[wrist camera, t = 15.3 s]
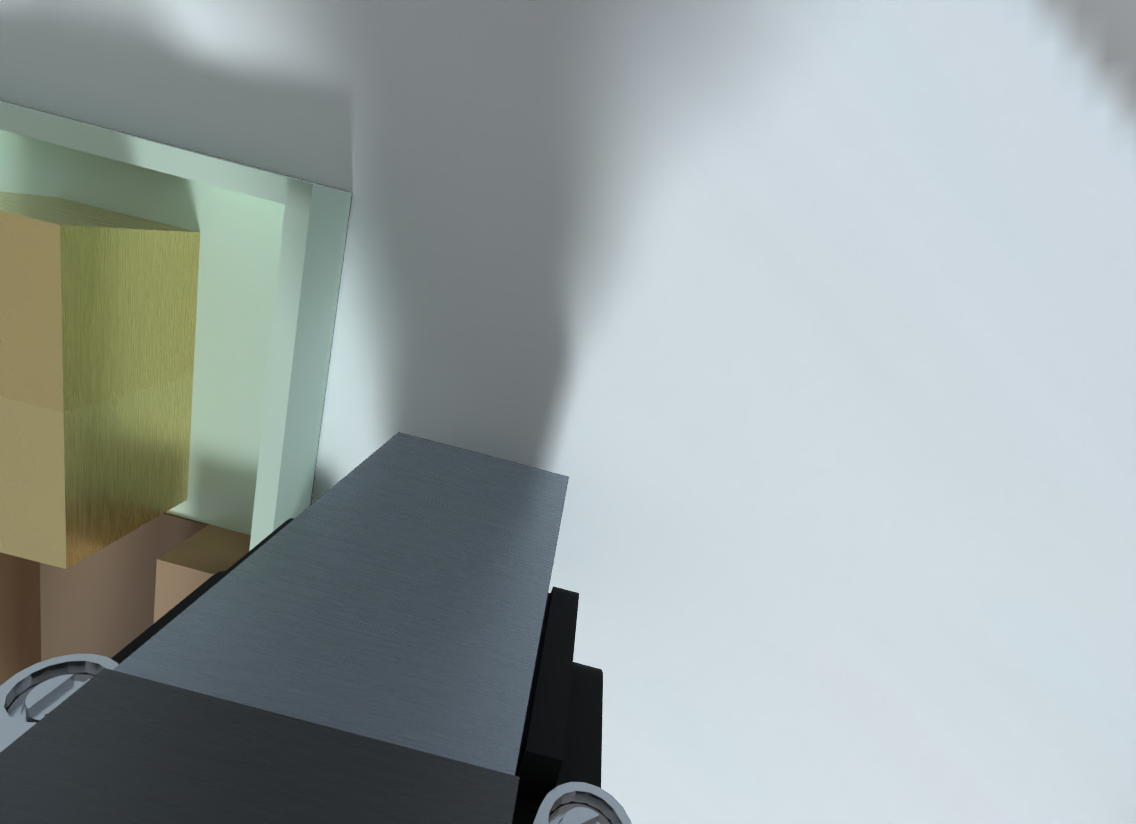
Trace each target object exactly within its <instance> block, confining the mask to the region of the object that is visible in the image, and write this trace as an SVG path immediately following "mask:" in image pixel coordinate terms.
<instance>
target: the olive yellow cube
mask: <svg viewBox="0 0 1136 824" xmlns="http://www.w3.org/2000/svg"><path fill="white" fill-rule="evenodd" d="M192 393H193V375H192V376H189V377H185V378H182V379H178V380H175V381H171V382H168V383H164V384H161V385H157V386H154V387H150V388H147V389H143V390H140V391H137V392H133V393H130V394H126V395H123V396H119V397H116V398H112V399H109V400H105V401H102V402H98V403H95V404H91V405H88V406H84V407H81V408H77V409H74V410H70V411H67V412H64V413H63V412H59V411H56V410H52V409H48V408H44V407H40V406H36V405H32V404H28V403H24V402H20V401H16V400H12V399H8V398H4V397H0V552H1V553H5V554H9V555H13V556H17V557H21V558H25V559H29V560H32V561H36V562H40V563H44V564H48V565H52V566H56V567H60V568H64V569H68V568H69V567H71V566H73V565H75V564H76V563H78V562H80V561H81V560H83V559H85V558H87V557H88V556H90V555H92V554H94V553H95V552H97V551H99V550H101V549H102V548H104V547H106V546H108V545H109V544H111V543H113V542H115V541H116V540H118V539H120V538H122V537H123V536H125V535H127V534H129V533H130V532H132V531H134V530H135V529H137V528H139V527H141V526H142V525H144V524H146V523H148V522H149V521H151V520H153V519H155V518H156V517H158V516H160V515H162V514H163V513H165V512H167V511H169V510H170V509H172V508H174V507H176V506H177V505H179V504H181V503H182V502H184V501H186V500H187V496H188V476H189V455H190V434H191V414H192Z"/></svg>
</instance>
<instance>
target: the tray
mask: <svg viewBox="0 0 1136 824" xmlns="http://www.w3.org/2000/svg"><path fill="white" fill-rule="evenodd" d="M0 191H2V192H12V193H22V194H32V195H42V196H52V197H59V198H63V199H67V200H71V201H75V202H79V203H83V204H87V205H91V206H95V207H99V208H103V209H107V210H111V211H115V212H119V213H123V214H127V215H132V216H136V217H140V218H144V219H148V220H152V221H156V222H160V223H164V224H168V225H172V226H176V227H180V228H184V229H188V230H192V231H196V232H200V248H199V269H198V290H197V310H196V331H195V352H194V372H193V393H192V414H191V434H190V455H189V476H188V496H187V500H186V501H184V502H182V503H181V504H179V505H177V506H176V507H174V508H172V509H170V510H169V511H167V512H166V513H170V514H173V515H177V516H181V517H184V518H188V519H192V520H196V521H199V522H203V523H207V524H210V525H214V526H218V527H222V528H225V529H229V530H233V531H236V532H240V533H244V534H248V535H251V539H250V548H249V551H250V550H252V549H253V548H254V547H255V546H256V545H258V544H259V543H260V542H261V541H262V540H264V539H265V538H266V537H267V536H268V535H270V534H271V533H272V532H273V531H274V530H276V529H277V528H278V527H279V526H280V525H282V524H283V523H284V522H285V521H286V520H288V519H290V518H294V519H295V518H296V517H297V516H298V515H300V514H301V513H302V512H303V511H304V510H306V509H307V508H308V507H309V506H310V503H311V495H312V488H313V480H314V473H315V465H316V458H317V450H318V443H319V435H320V428H321V421H322V413H323V406H324V398H325V391H326V383H327V376H328V368H329V361H330V353H331V346H332V339H333V331H334V324H335V316H336V309H337V301H338V294H339V286H340V279H341V271H342V264H343V256H344V249H345V242H346V234H347V227H348V219H349V212H350V204H351V197H352V193H350V192H346V191H342V190H338V189H335V188H331V187H327V186H323V185H319V184H316V183H312V182H308V181H304V180H300V179H296V178H293V177H289V176H285V175H281V174H277V173H274V172H270V171H266V170H262V169H258V168H255V167H251V166H247V165H243V164H239V163H236V162H232V161H228V160H224V159H220V158H217V157H213V156H209V155H205V154H201V153H198V152H194V151H190V150H186V149H182V148H178V147H175V146H171V145H167V144H163V143H159V142H156V141H152V140H148V139H144V138H140V137H137V136H133V135H129V134H125V133H121V132H118V131H114V130H110V129H106V128H102V127H99V126H95V125H91V124H87V123H83V122H79V121H76V120H72V119H68V118H64V117H60V116H57V115H53V114H49V113H45V112H41V111H38V110H34V109H30V108H26V107H22V106H19V105H15V104H11V103H7V102H3V101H0Z"/></svg>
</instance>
